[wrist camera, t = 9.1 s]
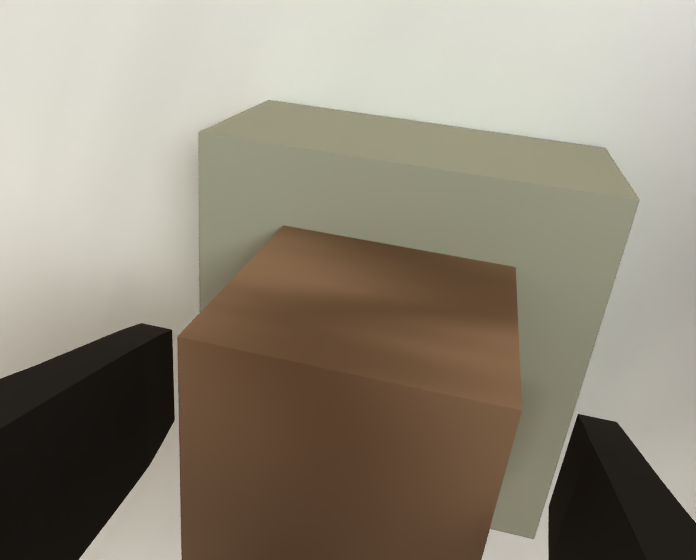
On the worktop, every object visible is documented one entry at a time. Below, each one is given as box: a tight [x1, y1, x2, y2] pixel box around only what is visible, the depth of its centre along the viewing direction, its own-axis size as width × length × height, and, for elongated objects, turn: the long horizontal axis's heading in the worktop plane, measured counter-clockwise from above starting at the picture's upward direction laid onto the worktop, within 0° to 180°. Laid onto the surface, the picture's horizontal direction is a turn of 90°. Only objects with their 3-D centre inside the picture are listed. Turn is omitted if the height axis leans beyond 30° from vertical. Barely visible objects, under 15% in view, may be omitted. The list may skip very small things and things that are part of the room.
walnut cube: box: [177, 225, 522, 560], centre depth 11 cm, size 4×4×4 cm
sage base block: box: [199, 100, 639, 539], centre depth 15 cm, size 8×8×4 cm
